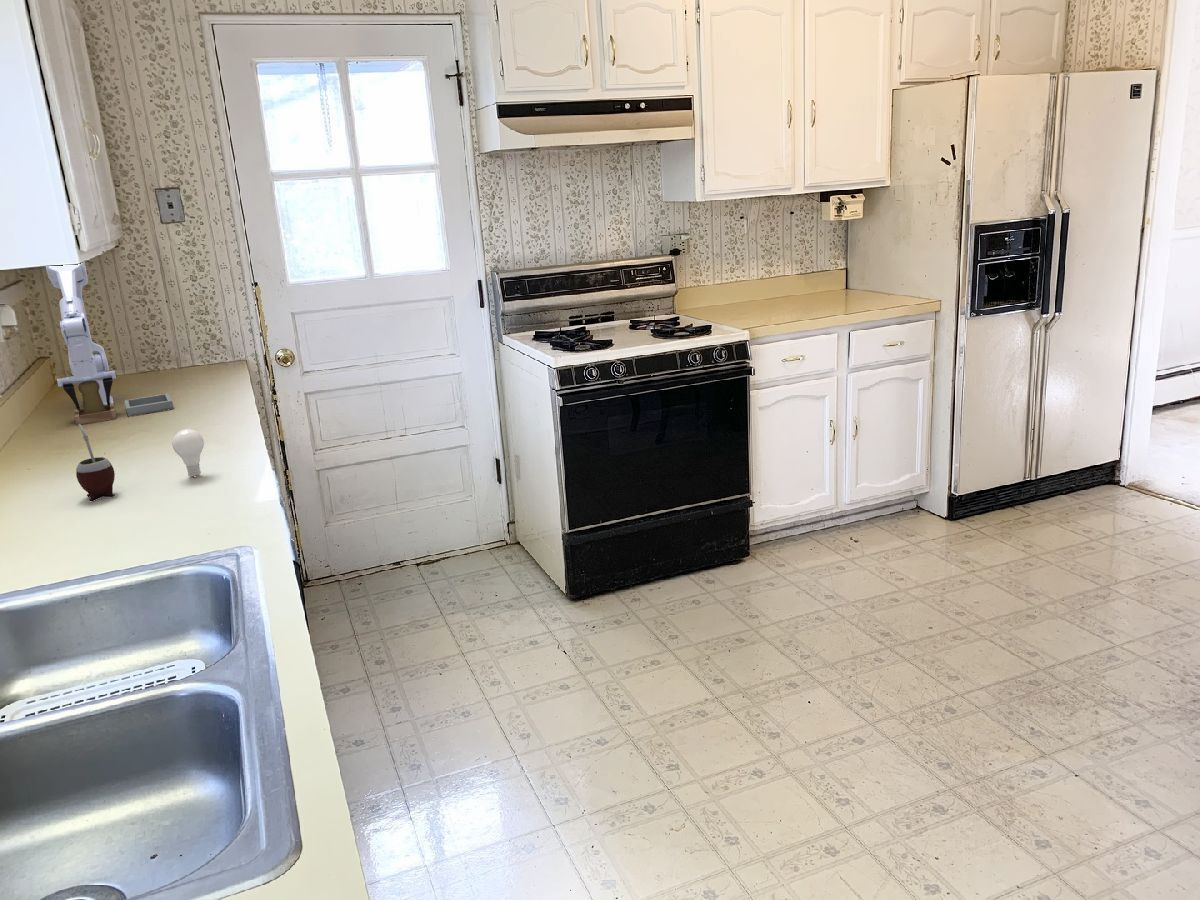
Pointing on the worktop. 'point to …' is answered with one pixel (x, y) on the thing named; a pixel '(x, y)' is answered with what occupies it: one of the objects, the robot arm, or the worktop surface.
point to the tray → (148, 404)
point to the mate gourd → (95, 474)
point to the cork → (91, 397)
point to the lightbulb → (189, 449)
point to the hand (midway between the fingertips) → (93, 406)
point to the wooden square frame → (95, 415)
